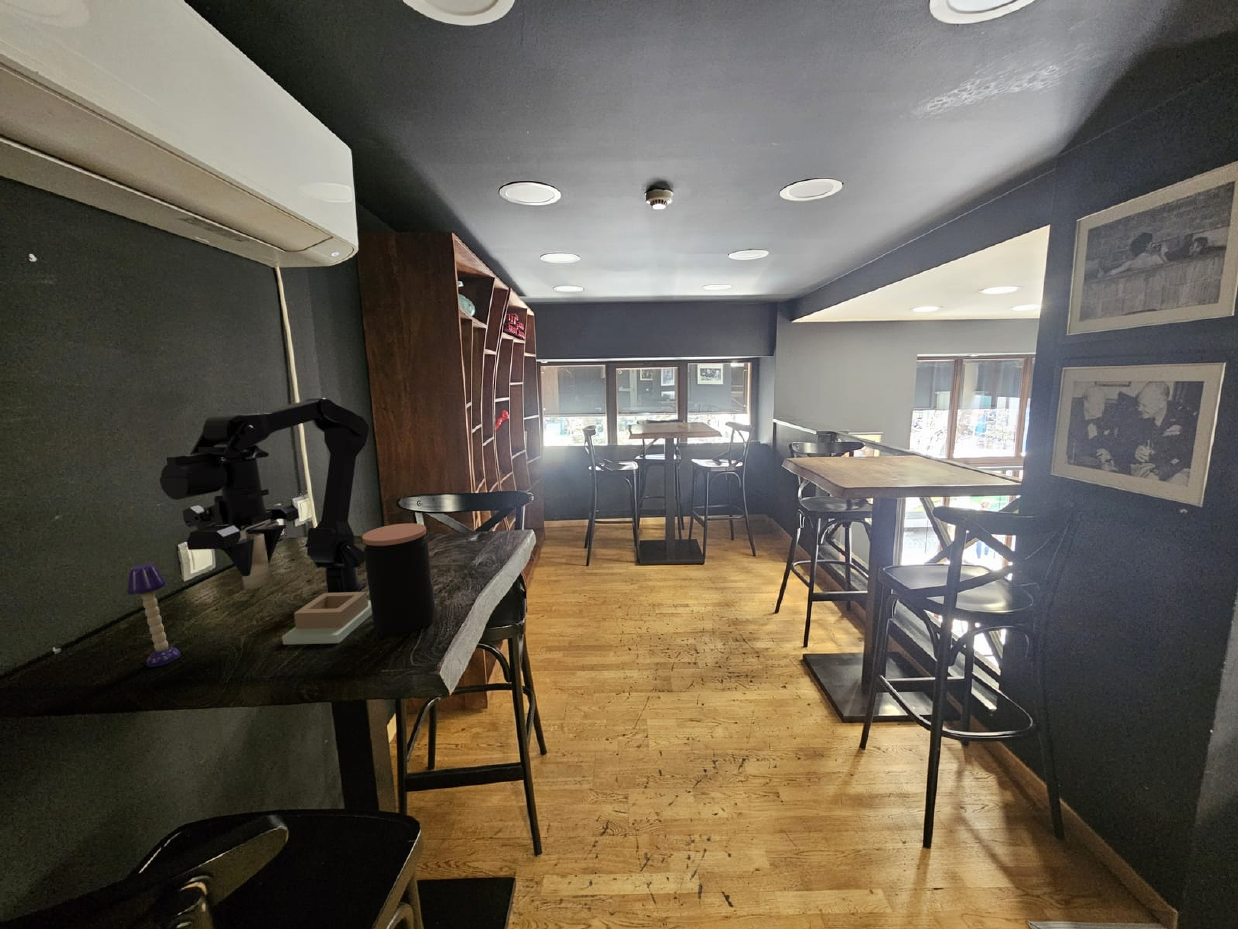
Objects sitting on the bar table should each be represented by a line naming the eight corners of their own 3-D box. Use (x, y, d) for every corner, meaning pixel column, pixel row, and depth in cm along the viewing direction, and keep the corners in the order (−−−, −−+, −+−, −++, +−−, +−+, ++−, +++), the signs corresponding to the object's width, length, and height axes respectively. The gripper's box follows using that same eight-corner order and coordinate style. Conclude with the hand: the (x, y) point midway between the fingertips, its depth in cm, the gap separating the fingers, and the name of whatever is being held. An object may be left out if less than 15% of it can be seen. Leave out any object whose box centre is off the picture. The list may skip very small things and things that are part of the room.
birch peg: (255, 580, 91) (247, 533, 89) (276, 580, 90) (269, 533, 89) (238, 589, 87) (229, 540, 85) (260, 589, 86) (252, 540, 85)
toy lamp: (136, 670, 80) (114, 573, 77) (154, 655, 84) (134, 563, 82) (172, 664, 81) (151, 568, 78) (187, 650, 86) (169, 559, 83)
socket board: (331, 608, 100) (328, 587, 99) (379, 607, 99) (377, 586, 99) (283, 644, 86) (279, 620, 85) (338, 643, 86) (335, 619, 85)
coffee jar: (448, 617, 94) (438, 526, 91) (398, 644, 84) (386, 544, 82) (412, 606, 99) (401, 520, 96) (362, 630, 90) (348, 536, 87)
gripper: (238, 478, 95) (251, 555, 98) (144, 500, 77) (163, 594, 79) (294, 476, 95) (306, 553, 97) (213, 498, 76) (230, 592, 79)
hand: (255, 571), depth 88 cm, fingers closed on birch peg, 4 cm apart
